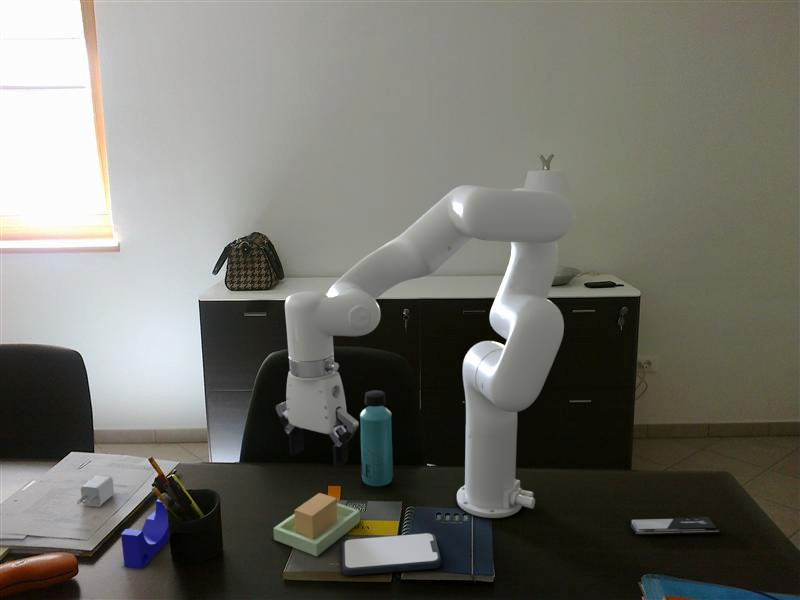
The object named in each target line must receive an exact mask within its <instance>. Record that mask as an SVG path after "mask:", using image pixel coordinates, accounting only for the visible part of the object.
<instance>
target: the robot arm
mask: <svg viewBox="0 0 800 600" xmlns="http://www.w3.org/2000/svg"><path fill="white" fill-rule="evenodd" d="M573 211H574V210H573V208H572V206H571V203H570V202H569V200H568V199H567V198H566V197H565V196H563V195H562V194H560V193H558V192H555V191H551V190H544V189H537V188H530V187H517V188H514V189H504V188H503V189H502V188H495V187H487V186H481V185H475V184H463V185H460V186H456V187H454V188H453V189H451V190H450V191H449V192H448V193H447V194H445V195H444V196H443V197H442V198H441V199H440V200H439V201H437V202H436V203H435V204H434V205H433V206H431V207H430V209H428V210H427V211H426V212H425V213H424V214H423V215H421V216H420V217H419V218H418V219H417V220H416V221H415V222H414V223H412V224H411V225H410V226H409V227H408V228H407V229H406V230H405V231H403V232H402V233H400V235H398V236H397V237H395V238H393V239H392V240H390V241H388V242H387V243H385V244H383V245H382V246H381V247H379V248H377V249H376V250H374V251H373V252H371V253H369V254H368V255H366V256H365V257H363V258H362V259H361V260H359V261H358V262H356V263H355V265H353V266H352V267H351V268H350V269H348V271H347V272H345V273H344V274H343V275H341V277H340V278H338V279H337V280H336V281H335V282H334V283H333V284H332V286H331V287H330V288H329V290H328V291H327V293H325V292H321V291H317V290H316V291H313V290H312V291H311V290H309V291H299V292H296V293H295V292H294V293H293V294H290V295H289V296H287V297H286V300H285V302H284V313H285V324H286V339H287V350H288V351H287V352H288V363H289V371H288V373H287V374H288V375H287V380H286V389H285V390H286V391H285V392H286V394H285V396H286V397H285V399H286V401H284V402H281V403H279V404H277V405H275V411H276V413H277V415H278V417H279V421H280V423H281V424H282V426H283V427H284V431H285V433H286V434H287V435H288V445H289V446H288V447H289V454H290V456H293V457H294V456H295V455H297V454H299V453H300V452H303V451H304V450H305V438H304V429H305V430H309V431H313V432H317V433H321V434H325V435H328V436H329V437H330V438H331V440H332V442H333V443H334V445H333V446H332V459H333V461H332V462H333V467H334V468H336V469H339V468H340V467H342V466H343V465H344V464H346V463H348V460H349V449H348V442H349V441H351V439H352V438H353V437H354V436H355V435H356V432H357V429H358V427H359V424H360V423H359V421H358V420H357V419H356V418H354V417H353V416H352V415H351V414H349V413H348V411H347V404H346V396H345V390H344V385H343V382H342V378H341V375H340V373H339V367H340V365H339V363H338V362H335V351H334V336H335V337H362V336H365V335H368V334H370V333H371V332H373V331H375V329H376V328H377V327H378V325H379V324H380V321H381V317H382V316H381V314H382V313H381V308H380V305H379V304H378V302H377V299H378V298H379V297H380V296H382V295H383V294H384V293H385V292H387V291H388V290H390V289H391V288H393V287H395V286H396V285H398V284H400V283H404V282H406V281H411V280H414V279H420V278H423V277H427V276H429V275H431V274H434V272H435V271H437V270H438V269H439V268H440V267H442V265H443V264H444V263H446V262H447V261H448V260H449V259H450V258H451V257H452V256H453V255H455V254H456V253H457V252H458V251H459V250H460V249H461V248H463V246H465V245H466V244H467V243H468V242H469V241H471V240H472V239H473V238H474V239H476V240H477V239H478V240H480V241H488V242H499V243H501V242H502V243H510V247H511V252H510V257H509V262H508V265H507V268H506V271H505V273H504V276H503V278H502V281H501V284H500V286H499V288H498V291H497V293H496V296H495V297H494V301H493V303H492V306H491V309H490V312H489V323H490V326H491V327H492V329H493V330H494V332H496V334H498V335H500V337H502V338H504V339H505V340H506V342H505V344H502V343H500V342H497V341H495V340H483V341H480V342H478V343H475V344H474V345H473V346H472V347H470V348H469V350H468V351H467V353H466V354H465V356H464V359H463V362H462V381H463V390H464V396H465V397H464V398H465V450H464V452H465V453H464V454H465V458H464V485H463V486H461V487H460V488H459V489H458V490H457V493H456V503H457V505H458V506H459V507H460V508H461V509H462V510H463V511H465V512H466V513H468V514H470V515H473V516H475V517H480V518H486V519H501V518H506V517H510V516H512V515H515V514H516V513H518V512H519V511H520V510H521V509H522V508H523V507H524V508H528V509H531V510H532V509H534V508H535V504H536V499H535V498H534V492H533V491H530V490H524V489H523V488H522V487H521V480H520V479H516V470H517V469H516V468H517V466H516V465H517V441H518V440H517V438H518V437H517V435H518V413H519V412H522V411H524V410H526V409H527V408H529V407H530V406H531V405H532V404H533V403H534V402H535V401H536V400H537V398H538V397H539V395H540V394H541V391H542V389H543V387H544V385H545V383H546V381H547V378H548V375H549V374H550V371H551V368H552V366H553V363H554V361H555V359H556V356H557V354H558V351H559V349H560V346H561V343H562V342H563V337H564V329H565V321H564V317H563V314H562V312H561V310H560V309H559V307H558V306H557V305H556V304H555V303H554V302H552V301H551V300H549V299H548V296H549V294H550V291H551V288H552V285H553V282H554V281H555V280H554V279H555V276H556V274H557V270H558V265H559V250H558V249H559V247H558V243H557V241H558V240H560V239H562V238H563V237H564V236H565V235H566V234H567V233H568V232H569V231H570V230H571V228H572V227H571V226H573V225H572V224H573V221H574V212H573ZM345 426H346V428H345ZM336 431H337V432H338V433H337V432H336Z"/></svg>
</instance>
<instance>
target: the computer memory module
mask: <svg viewBox="0 0 800 600" xmlns="http://www.w3.org/2000/svg"><path fill="white" fill-rule="evenodd" d="M629 525H630V527H631V529H632V531H633V532H634V534H635V535H636V536H652V535H654V536H655V535H680V534H681V535H688V534H689V535H693V534H721V531H720V529H719V528H718V527H717V526H716V525H715V524H714V522H713V521H712V520H711V519H710V518H709V517H708V516H699V517H698V518H697V517H690V516H689V519H688V517H673V518H653V519H652V518H650V519H649V518H648V519H646V518H645V519H631V523H630V524H629Z"/></svg>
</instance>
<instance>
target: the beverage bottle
mask: <svg viewBox="0 0 800 600" xmlns="http://www.w3.org/2000/svg"><path fill="white" fill-rule="evenodd" d="M386 403H387V400H386V393H385V392H384V391H382V390H377V389H375V390H369V391H367V392H365V394H364V405H366V406H367V407H365V408H364V409H362V411H361V412H360V413H359V419H360V437H359V438H360V452H361V455H360V457H361V468H360V469H361V470H360V473H361V478H362V482H363V483H364V484H365V485H367V486H372V487H382V486H386V485H388V484H390V483H391V482H392V481H393V478H394V460H393V458H394V455H393V437H392V434H393V433H392V412H391V410H389V409H388V408H387V407H385V406H384V405H386Z"/></svg>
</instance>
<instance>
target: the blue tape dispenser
mask: <svg viewBox="0 0 800 600" xmlns="http://www.w3.org/2000/svg"><path fill="white" fill-rule="evenodd" d="M120 537H121V538H120V539H121V547H122V548H121V549H122V556H123V565H124V568H133V569H139V570H140V569H143V568H144V566H146V565H147V563H148V562H149V561H150V560H151V559H152V558H153V557H154V556H155V554H156V553H157V552H158V551H159V550H160V549H161V548H162V547H163V546H164V545H165V544H166V543H167V542H168V541H169V540H170V538H171V537H170V535H169V526H168V518H167V510H166V508H165V506H164V505H163V503H162V502H161V501H160V500H159V498H157V500H155V510H154V511H153V512H152V513H151V514H150V515H149V516H148V517H147V518H145V522H144V523H143V526H142V528H141V530H139V529H131V528H126V529H124V530H123V531H122V532H121V533H120Z"/></svg>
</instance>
